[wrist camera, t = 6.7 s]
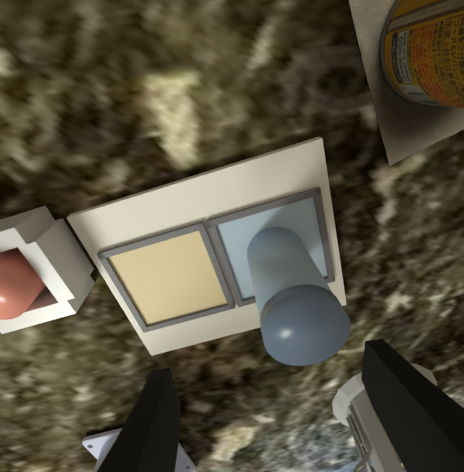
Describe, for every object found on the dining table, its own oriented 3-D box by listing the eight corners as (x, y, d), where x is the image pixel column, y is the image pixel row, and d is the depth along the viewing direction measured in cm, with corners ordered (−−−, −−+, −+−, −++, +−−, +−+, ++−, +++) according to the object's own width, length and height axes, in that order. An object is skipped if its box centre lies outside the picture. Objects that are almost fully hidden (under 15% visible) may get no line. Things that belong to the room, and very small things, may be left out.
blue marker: (307, 269, 19) (353, 355, 13) (252, 282, 19) (271, 373, 13) (299, 219, 18) (348, 290, 11) (240, 234, 18) (255, 311, 12)
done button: (64, 278, 18) (38, 311, 16) (21, 291, 18) (-12, 325, 16) (36, 237, 17) (3, 266, 14) (-10, 252, 17) (-52, 282, 14)
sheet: (343, 299, 22) (348, 307, 21) (152, 349, 23) (150, 359, 22) (318, 136, 16) (324, 139, 15) (70, 213, 17) (63, 219, 17)
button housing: (101, 280, 20) (83, 311, 17) (23, 302, 20) (-6, 336, 17) (53, 203, 17) (23, 224, 14) (-35, 230, 17) (-80, 256, 15)
